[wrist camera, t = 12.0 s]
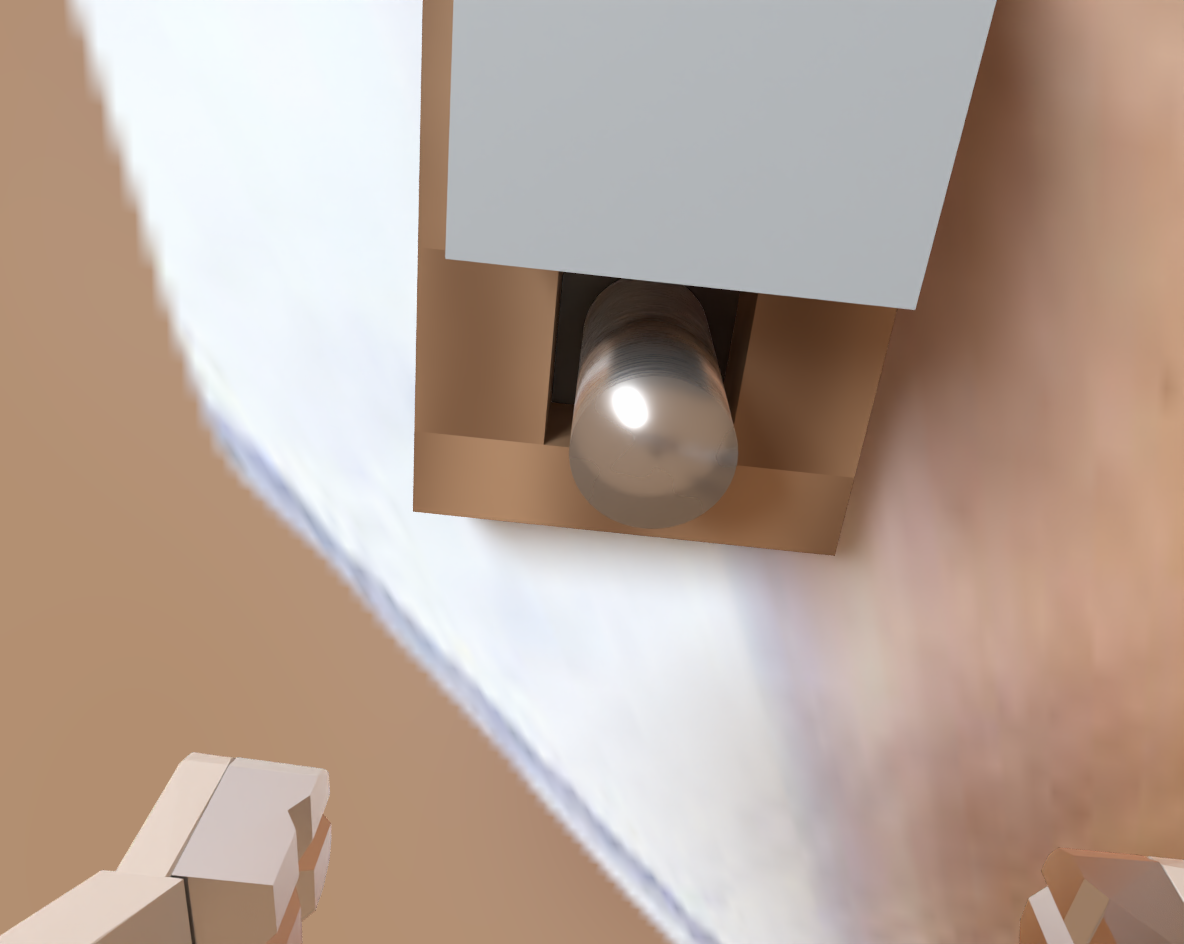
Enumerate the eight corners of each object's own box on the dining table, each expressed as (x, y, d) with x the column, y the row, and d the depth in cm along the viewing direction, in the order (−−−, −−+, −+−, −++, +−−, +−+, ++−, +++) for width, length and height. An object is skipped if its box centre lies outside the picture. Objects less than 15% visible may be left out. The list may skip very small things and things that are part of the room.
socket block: (980, -187, 22) (1029, -211, 19) (816, 505, 30) (834, 555, 27) (453, -248, 22) (428, -283, 19) (432, 464, 30) (412, 511, 27)
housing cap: (951, -226, 19) (1077, -310, 13) (848, 235, 23) (915, 309, 17) (511, -278, 19) (465, -383, 13) (487, 196, 23) (445, 259, 17)
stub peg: (717, 280, 27) (751, 385, 20) (698, 399, 28) (723, 536, 21) (589, 267, 27) (576, 368, 20) (577, 386, 28) (562, 520, 21)
